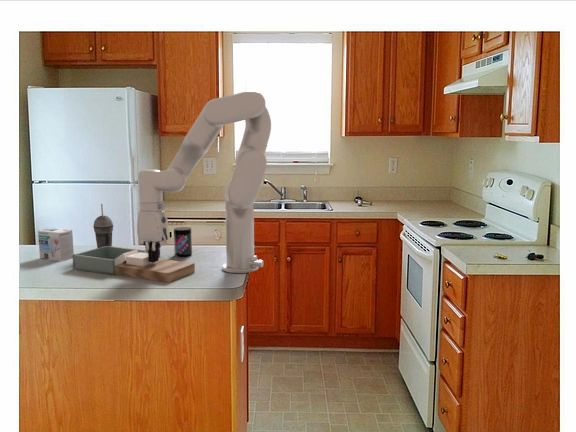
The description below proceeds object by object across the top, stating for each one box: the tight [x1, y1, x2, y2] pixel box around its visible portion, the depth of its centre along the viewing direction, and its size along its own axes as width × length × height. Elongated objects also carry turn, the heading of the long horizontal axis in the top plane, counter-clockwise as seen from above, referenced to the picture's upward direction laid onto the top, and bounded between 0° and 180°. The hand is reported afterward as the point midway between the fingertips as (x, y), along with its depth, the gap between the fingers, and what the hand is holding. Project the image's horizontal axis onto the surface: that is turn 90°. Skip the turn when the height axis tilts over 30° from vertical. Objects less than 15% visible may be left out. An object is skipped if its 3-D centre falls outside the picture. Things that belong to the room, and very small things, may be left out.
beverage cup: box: [92, 203, 114, 248], centre depth 199 cm, size 7×7×20 cm
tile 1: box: [114, 249, 138, 265], centre depth 182 cm, size 7×7×2 cm
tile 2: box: [126, 252, 153, 266], centre depth 179 cm, size 7×7×2 cm
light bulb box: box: [37, 227, 75, 262], centre depth 197 cm, size 11×7×11 cm, turn 68°
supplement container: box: [173, 226, 193, 258], centre depth 201 cm, size 7×7×10 cm
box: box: [72, 245, 145, 276], centre depth 185 cm, size 18×16×5 cm
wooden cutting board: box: [115, 258, 196, 283], centre depth 177 cm, size 22×14×3 cm, turn 65°
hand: (153, 261), depth 177 cm, fingers closed
